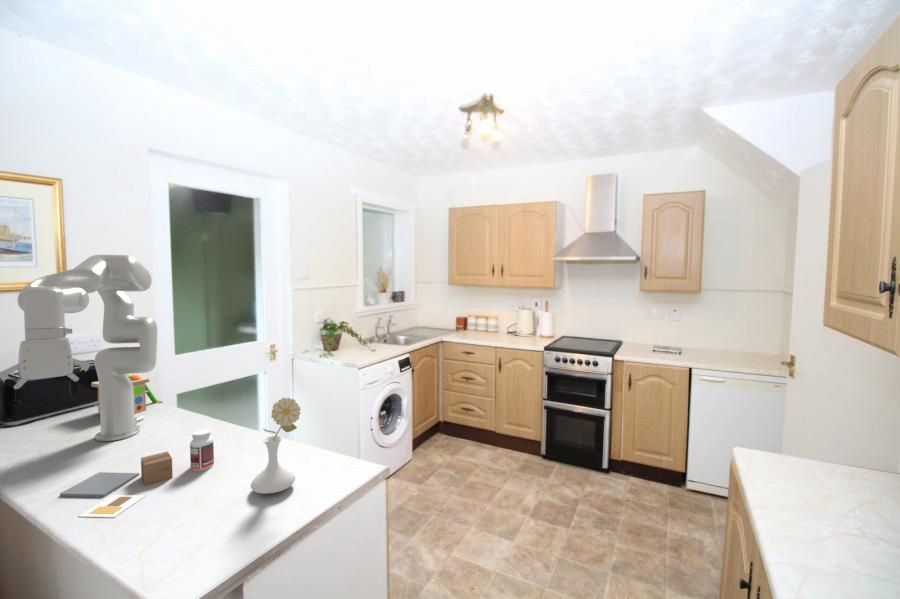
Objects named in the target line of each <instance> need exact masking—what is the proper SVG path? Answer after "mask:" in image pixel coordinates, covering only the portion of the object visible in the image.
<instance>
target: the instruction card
mask: <svg viewBox="0 0 900 599" xmlns="http://www.w3.org/2000/svg"><path fill="white" fill-rule="evenodd" d="M146 496H147V495H145V494H143V495H142V494H141V495H140V494H139V495H137V494H136V495H135V494H134V495H133V494H130V495H129V494H112V495H110V496H109V497H107V498H106V499H104V500H102V501H101V502H99V503H97V504H95V505H93V507H90V509H88V510H86V511H84V512H83V513H81V514H79V515H78V516H77V517H78V518H106V519H107V518H114V519H115V518H116V517H118V516H119V515H121V514H122V513H124V512H125V511H127V510H128V509H130V508H131V507H133V506H134V505H135V504H137V503H138V502H140V501H141V500H142V499H145V497H146Z"/></svg>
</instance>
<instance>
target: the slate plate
mask: <svg viewBox="0 0 900 599" xmlns="http://www.w3.org/2000/svg"><path fill="white" fill-rule="evenodd" d="M139 476H140V472H139V473H138V472H102V471H101V472H100V471H99V472H97V473H95V474H94V475H92V476H90V477H88V478H85V480H84V479H83V480H82V481H80V482H79V483H76V484H75V485H72V486H71V487H69V488H67V489H66V490H63V491H61V492H60V493H59V497H67V498H69V497H75V498H105V497H107V496H108V495H111V494H112V493H114V492H115V491H117V490H119V489H120V488H122V487H124V486H125V485H126V484H129V483H130V482H131V481H133V480H134V479H136V478H137V477H139Z"/></svg>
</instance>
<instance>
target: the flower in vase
mask: <svg viewBox="0 0 900 599" xmlns="http://www.w3.org/2000/svg"><path fill="white" fill-rule="evenodd" d="M272 405H273V406H272V410H271V416H270V417H271V418H272V419H273V422H275V424H276V425H280V427H279V428H278V430H277V432H276V431H274V430H270V429H269V430H268V429H265V428H262V429H263V430H264V432H267V433H272V434H275V435H269V436H267V437H264V438H263V439H262V442H263V443H264V444H265V445H266V448H267V453H268V462H267V466H266V467H265V468H263V470H261V471H260V472H259V473H257V475H256V476H255V477H254V478H253V479H252V480H251V483H250V489H251V490H252V491H253V492H254V493H257V494H260V495H261V494H262V495H267V494H276V493H279V492H283V491H285V490H287V489H288V488H290V487H291V486H292V485H293V484H294V482H295V480H296V475H295V474H294V473H293V471H291V470H289V469H288V468H287V467H284V466H282V465H281V464H279V462H278V451H279V450H278V449H279V446H280V443H281V441H282V440H283V436H281V435H278V434H279V432H280V430H281V429H282V431H284V432H285V433H290V432H293V431H295V430H296V429H298V427H297V426H296V425H295V424H294V423H296V422H297V421H298V420H299V419H300V415H301V410H302V409H301V406H300V405H299V403H298V402H297V401H296V399H294V398H290V397H282V398H280V399H278V401H276V402H275V403H273V404H272Z"/></svg>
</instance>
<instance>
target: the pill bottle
mask: <svg viewBox="0 0 900 599" xmlns="http://www.w3.org/2000/svg"><path fill="white" fill-rule="evenodd" d="M191 436H192V440H191V441H190V443H189V453H190V455H189V456H190V458H189V459H190V469H191V471H193V472H202V471H207V470H208V469H211V468H213V467H214V465H215V456H214V455H215V451H214V450H215V449H214V447H215V446H214V438H213V437H212V436H211V430H210V429H199V430H196V431H193V432H192V435H191Z"/></svg>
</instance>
